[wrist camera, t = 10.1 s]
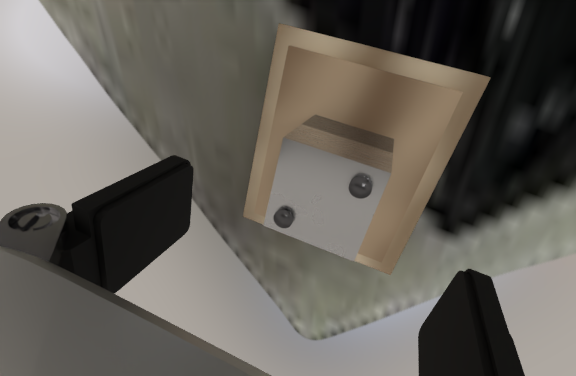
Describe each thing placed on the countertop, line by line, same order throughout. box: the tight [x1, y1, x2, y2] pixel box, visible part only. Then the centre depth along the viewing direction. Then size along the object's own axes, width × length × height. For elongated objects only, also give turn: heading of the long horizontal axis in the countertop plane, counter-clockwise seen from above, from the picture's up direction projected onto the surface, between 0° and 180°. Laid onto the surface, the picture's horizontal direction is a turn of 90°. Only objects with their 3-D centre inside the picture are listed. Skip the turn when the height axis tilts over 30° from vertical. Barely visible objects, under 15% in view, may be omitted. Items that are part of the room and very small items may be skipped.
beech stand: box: [243, 23, 490, 275], centre depth 21 cm, size 12×14×3 cm
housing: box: [263, 115, 394, 261], centre depth 17 cm, size 5×5×6 cm
